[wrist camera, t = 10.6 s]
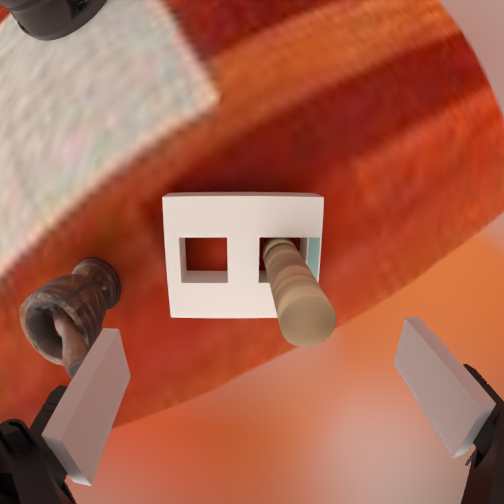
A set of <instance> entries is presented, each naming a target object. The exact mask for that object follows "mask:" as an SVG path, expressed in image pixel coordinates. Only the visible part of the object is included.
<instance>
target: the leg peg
mask: <svg viewBox="0 0 504 504" xmlns="http://www.w3.org/2000/svg"><path fill="white" fill-rule="evenodd" d="M262 256H263V260H264V264H265V268H266V272H267V276H268V280H269V284H270V288H271V292H272V296H273V300H274V304H275V308H276V312H277V317H278V321H279V325H280V329H281V332H282V335H283V337H284V338H285V339H286V340H287V341H288V342H289V343H291V344H293V345H295V346H299V347H311V346H315V345H317V344H319V343H321V342H323V341H324V340H326V339H327V338H328V337H329V336H330V335H331V333H332V332H333V330H334V328H335V325H336V313H335V310H334V308H333V307H332V305H331V303H330V302H329V300H328V298H327V297H326V295H325V294H324V292H323V290H322V289H321V287H320V285H319V284H318V282H317V280H316V279H315V277H314V276H313V274H312V272H311V271H310V269H309V267H308V266H307V264H306V263H305V261H304V259H303V258H302V256H301V255H300V253H299V251H298V250H297V248H296V247H295V245H294V243H293V242H292V240H291V239H290V238H289V237H269V238H267V239H266V240H265V242H264V243H263V246H262Z"/></svg>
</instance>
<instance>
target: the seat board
mask: <svg viewBox="0 0 504 504" xmlns="http://www.w3.org/2000/svg"><path fill="white" fill-rule="evenodd" d="M323 208H324V197H322V196H320V195H318V194H316V193H292V192H183V193H169V194H167V195H165V196H164V197H163V220H164V239H165V255H166V268H167V281H168V292H169V303H170V313H171V317H178V318H278V317H277V312H276V308H275V304H274V300H273V296H272V292H271V288H270V284H269V280H268V276H267V272H266V271H259V237H300V252H299V253H300V255H301V256H302V258H303V259H304V261H305V263H306V264H307V266H308V267H309V269H310V271H311V272H312V274H313V276H314V277H315V279H316V280H317V282H318V280H319V269H320V256H321V242H322V226H323ZM193 237H227V257H228V271H187V268H186V249H185V238H193Z"/></svg>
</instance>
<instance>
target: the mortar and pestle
mask: <svg viewBox="0 0 504 504" xmlns="http://www.w3.org/2000/svg"><path fill="white" fill-rule="evenodd" d="M119 297H120V282H119V279H118V277H117V274H116V272H115V271H114V269H113V268H112V267H111V266H109V265H108V264H107V263H105V262H103V261H101V260H99V259H96V258H88V259H85V260H82V261H81V262H80V263H79V264H78V265H77V266H76V267H75V268H74V269H73V271H72V273H71V274H67V275H63V276H60V277H57V278H54V279H53V280H51V281H49V282H47V283H46V284H44V285H43V286H42V287H41V288H39V289H38V290H36V291H35V292H34V293H32V294H31V295H30V296H29V297H28V298H27V299H26V300H25V301H24V302H23V304H22V305H21V306H20V311H19V313H20V322H21V326H22V329H23V332H24V334H25V336H26V338H27V340H28V341H29V342H30V343H31V344H32V346H33V348H34V349H35V350H36V351H37V352H39V353H40V354H41V355H42V356H43V357H44V358H46V359H47V360H49V361H51V362H53V363H55V364H59V365H62V366H64V368H65V370H66V372H67V374H68V375H69V376H70V377H71V378H72V379H73V377H74V376H75V374H76V372H77V371H78V369H79V367H80V366H81V364H82V362H83V361H84V359H85V357H86V356H87V354H88V352H89V351H90V349H91V348H92V346H93V344H94V343H95V341H96V340H97V338H98V336H99V335H100V333H101V330H102V323H103V319H104V316H105V312H106V310H107V309H110V308H112V307H113V306H114V305H116V304H117V302H118V300H119Z"/></svg>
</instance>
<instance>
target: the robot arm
mask: <svg viewBox="0 0 504 504" xmlns="http://www.w3.org/2000/svg"><path fill="white" fill-rule="evenodd" d="M105 1H106V0H0V6H2V7H4V8H6V9H8V10H10V12H11V13H12V15H13V17H14V18H15V19H16V20H17V22H18V24H19V26H20V28H21V29H22V30H23V31H24V32H25V33H26V34H28V35H30V36H32V37H34V38H36V39H39V40H53V39H58V38H61V37H63V36H66V35H68V34H70V33H72V32H73V31H75V30H77V29H78V28H80V27H81V26H82V25H84V24H85V23H86V22H87V21H88V20H90V19H91V18H92V17H93V16H94V15H95V14H96V13H97V12H98V10H99V9H100V8H101V7H102V6H103V4H104V3H105ZM393 365H394V366H395V368H396V369H397V371H398V372H399V374H400V375H401V377H402V378H403V380H404V381H405V383H406V385H407V386H408V388H409V389H410V391H411V392H412V394H413V395H414V397H415V399H416V400H417V402H418V403H419V405H420V406H421V408H422V410H423V411H424V413H425V414H426V416H427V418H428V419H429V421H430V422H431V424H432V426H433V427H434V429H435V430H436V432H437V434H438V435H439V437H440V439H441V440H442V442H443V444H444V446H445V447H446V449H447V450H448V452H449V454H450V456H451V457H452V458H455V457H457V456H459V455H462V454H464V453H466V452H467V451H468V450H469V448H470V446H471V445H472V443H474V445H475V446H476V449H475V451H474V452H473V453H472V455H471V456H470V458H469V459H468V461H467V462H466V464H465V465H466V466H467V465H468V464H469V463H470V461H471V466H470V470H469V475H468V479H467V483H466V487H465V490H464V495H463V498H462V501H461V504H504V401H503V400H502V399H501V398H500V397H499V396H498V395H497V393H496V392H495V391H494V390H493V389H492V388H491V386H490V385H489V384H487V382H486V381H485V380H484V378H482V376H481V375H480V374H479V373H478V372H477V371H476V370H475V369H474V368H472V367H471V366H469V365H467V364H464V365H462V364H461V363H460V361H459V360H458V359H457V358H456V357H455V356H454V355H453V354H452V353H451V352H450V350H449V349H448V348H447V347H446V346H445V345H444V344H443V343H442V342H441V341H440V340H439V339H438V337H437V336H436V335H435V334H434V333H433V332H432V331H431V330H430V329H429V328H428V327H427V326H426V325H425V324H424V323H423V322H422V320H421V319H419V317H411V318H405V319H404V324H403V328H402V333H401V336H400V341H399V345H398V348H397V352H396V356H395V360H394V363H393ZM130 377H131V376H130V372H129V369H128V365H127V361H126V357H125V353H124V349H123V345H122V341H121V337H120V332H119V329H108V328H104V329H103V330H102V332H101V333H100V335H99V336H98V338H97V340H96V341H95V343H94V344H93V346H92V348H91V349H90V351H89V352H88V354H87V356H86V357H85V359H84V361H83V362H82V364H81V366H80V367H79V369H78V371H77V372H76V374H75V376H74V377H73V379H72V381H71V382H70V384H69V386H68V387H67V386H61V385H60V386H58V387H57V388H56V389H55V390H53V391H52V392H51V393H50V395H49V396H48V398H47V400H46V401H45V402H46V403H44V405H43V406H42V408H41V410H40V411H39V413H38V415H37V417H36V418H35V420H34V422H33V423H32V425H31V427H30V429H28V428H27V426H26V424H25V423H24V422H23V421H21V420H18V419H10V420H7V421H5V422H2V423H1V424H0V504H77V503H76V502H75V500H74V498H73V496H72V494H71V492H70V490H69V488H68V486H67V484H66V483H65V481H64V480H65V478H66V475H67V474H68V475H69V477H70V478H71V479H72V481H73V482H76V483H80V484H84V485H89V486H92V484H93V480H94V477H95V474H96V471H97V468H98V465H99V462H100V459H101V456H102V453H103V450H104V447H105V444H106V442H107V439H108V436H109V433H110V430H111V427H112V425H113V422H114V419H115V416H116V414H117V411H118V408H119V406H120V403H121V400H122V398H123V395H124V392H125V390H126V387H127V384H128V382H129V379H130Z"/></svg>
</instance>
